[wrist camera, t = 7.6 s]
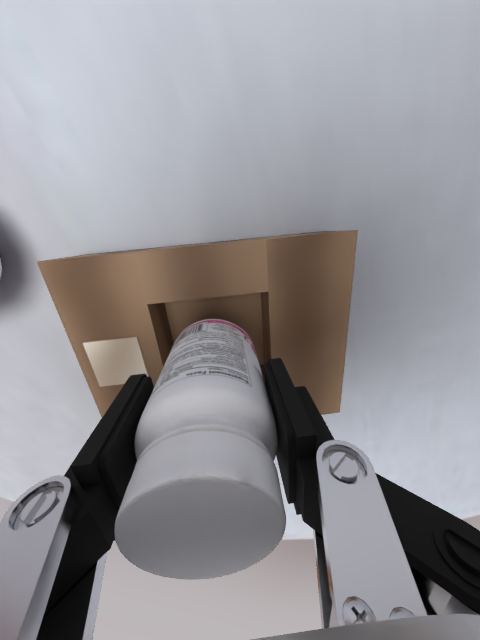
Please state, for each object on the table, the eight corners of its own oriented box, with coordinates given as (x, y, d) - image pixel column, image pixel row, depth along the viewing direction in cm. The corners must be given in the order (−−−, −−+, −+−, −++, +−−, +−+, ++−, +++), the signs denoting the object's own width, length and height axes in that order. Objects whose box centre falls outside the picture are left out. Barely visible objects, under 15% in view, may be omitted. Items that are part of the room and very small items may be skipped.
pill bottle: (250, 389, 14) (283, 585, 6) (173, 386, 14) (104, 594, 6) (260, 319, 12) (323, 466, 4) (173, 313, 12) (74, 466, 4)
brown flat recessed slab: (324, 231, 15) (358, 230, 11) (317, 378, 19) (340, 413, 16) (84, 254, 14) (35, 262, 11) (133, 399, 19) (110, 441, 15)
